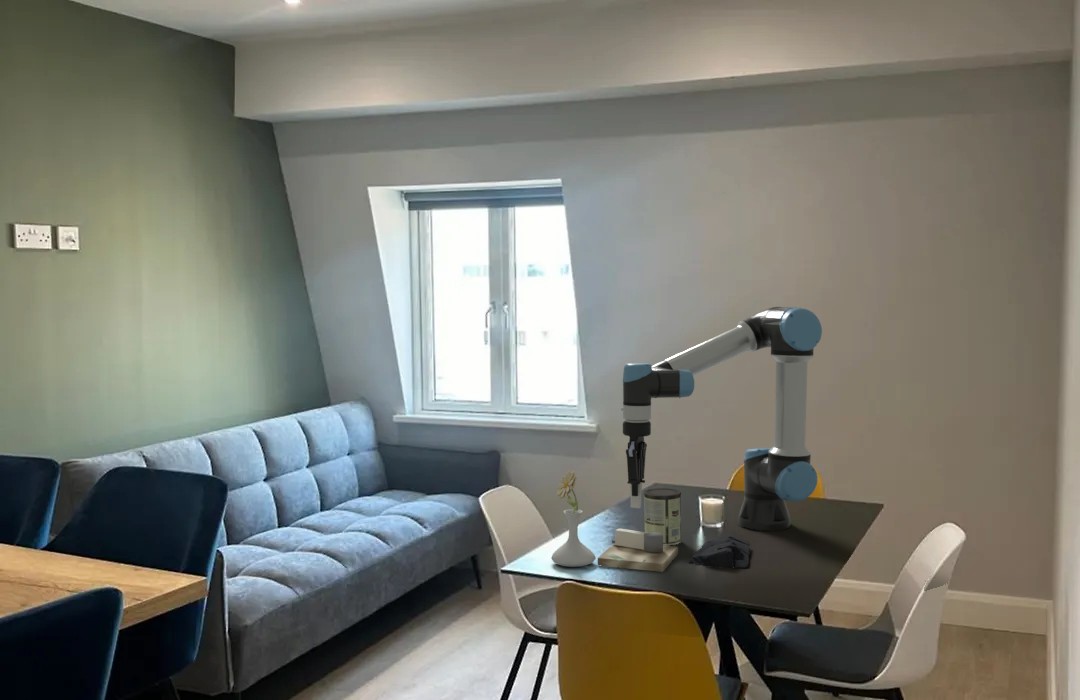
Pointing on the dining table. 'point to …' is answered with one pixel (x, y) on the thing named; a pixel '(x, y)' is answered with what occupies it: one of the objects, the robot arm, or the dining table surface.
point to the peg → (639, 540)
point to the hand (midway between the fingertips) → (636, 507)
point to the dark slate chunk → (723, 553)
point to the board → (637, 558)
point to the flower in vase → (572, 530)
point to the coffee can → (663, 514)
